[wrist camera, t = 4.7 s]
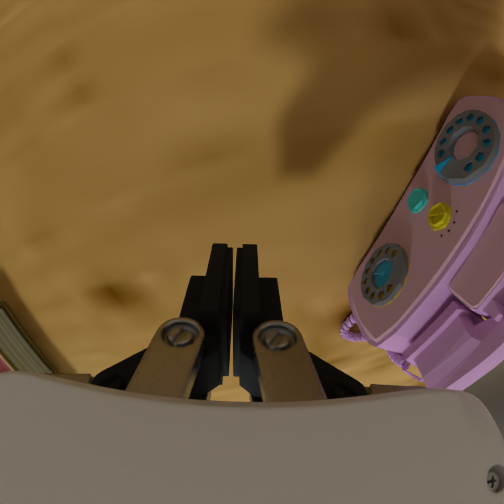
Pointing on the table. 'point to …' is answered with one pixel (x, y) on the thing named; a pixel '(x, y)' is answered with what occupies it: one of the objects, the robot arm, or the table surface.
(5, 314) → the hardcover book
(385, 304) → the toy telephone
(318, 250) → the table surface
